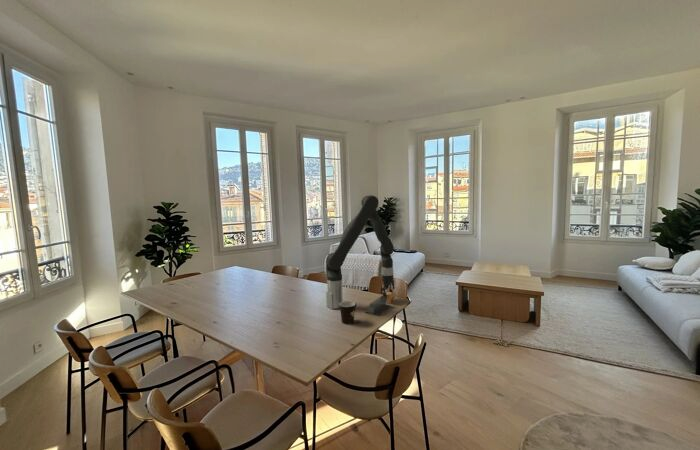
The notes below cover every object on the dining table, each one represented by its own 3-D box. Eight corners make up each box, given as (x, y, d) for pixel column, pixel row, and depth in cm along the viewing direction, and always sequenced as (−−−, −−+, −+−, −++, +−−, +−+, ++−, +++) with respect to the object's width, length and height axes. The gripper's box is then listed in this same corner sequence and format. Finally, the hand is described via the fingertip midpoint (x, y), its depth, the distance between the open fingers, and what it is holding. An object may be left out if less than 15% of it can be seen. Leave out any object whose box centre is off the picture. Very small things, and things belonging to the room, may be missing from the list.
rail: (379, 315, 173) (378, 305, 173) (365, 312, 178) (365, 302, 177) (390, 306, 187) (390, 297, 186) (377, 304, 191) (377, 295, 191)
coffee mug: (344, 326, 160) (343, 307, 159) (337, 320, 168) (336, 303, 167) (363, 321, 165) (363, 303, 164) (355, 316, 173) (355, 299, 172)
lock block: (394, 300, 198) (394, 292, 198) (390, 303, 193) (390, 295, 193) (385, 298, 202) (385, 291, 202) (380, 301, 197) (380, 293, 196)
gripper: (387, 270, 204) (387, 294, 205) (377, 275, 192) (377, 300, 194) (397, 271, 200) (398, 295, 201) (387, 277, 188) (388, 302, 189)
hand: (388, 298), depth 197 cm, fingers open, 8 cm apart
